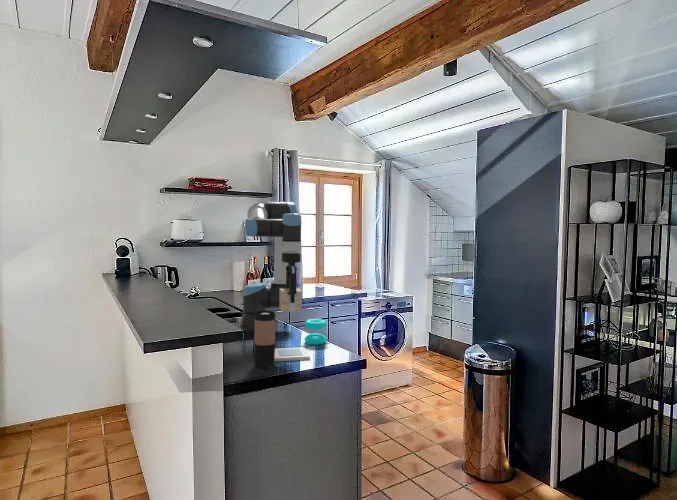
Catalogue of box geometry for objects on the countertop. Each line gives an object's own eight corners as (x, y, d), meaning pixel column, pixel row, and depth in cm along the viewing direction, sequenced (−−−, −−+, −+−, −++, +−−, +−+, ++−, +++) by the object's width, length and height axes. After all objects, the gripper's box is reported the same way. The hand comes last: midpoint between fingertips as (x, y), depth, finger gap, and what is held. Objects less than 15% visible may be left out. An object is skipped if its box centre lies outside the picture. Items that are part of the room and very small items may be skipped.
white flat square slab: (271, 351, 184) (271, 348, 184) (304, 350, 187) (304, 346, 187) (273, 361, 170) (273, 357, 170) (309, 359, 173) (309, 356, 173)
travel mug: (249, 366, 163) (250, 312, 162) (264, 361, 170) (264, 309, 169) (264, 370, 159) (265, 315, 158) (279, 365, 165) (279, 312, 164)
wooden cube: (279, 308, 180) (279, 288, 180) (298, 307, 182) (299, 288, 182) (281, 311, 173) (281, 291, 172) (301, 311, 174) (302, 291, 174)
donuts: (301, 319, 202) (321, 317, 206) (301, 341, 202) (320, 339, 207) (310, 323, 193) (330, 321, 197) (309, 346, 193) (330, 344, 198)
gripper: (279, 251, 186) (278, 304, 187) (284, 253, 165) (284, 313, 166) (297, 251, 187) (296, 304, 188) (304, 253, 167) (303, 313, 168)
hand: (290, 308), depth 177 cm, fingers closed on wooden cube, 8 cm apart
